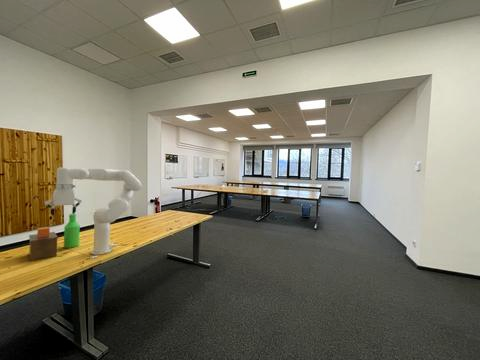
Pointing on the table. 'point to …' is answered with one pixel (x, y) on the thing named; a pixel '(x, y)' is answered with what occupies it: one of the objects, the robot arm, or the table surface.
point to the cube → (43, 232)
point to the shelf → (43, 246)
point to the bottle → (71, 232)
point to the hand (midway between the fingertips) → (63, 214)
